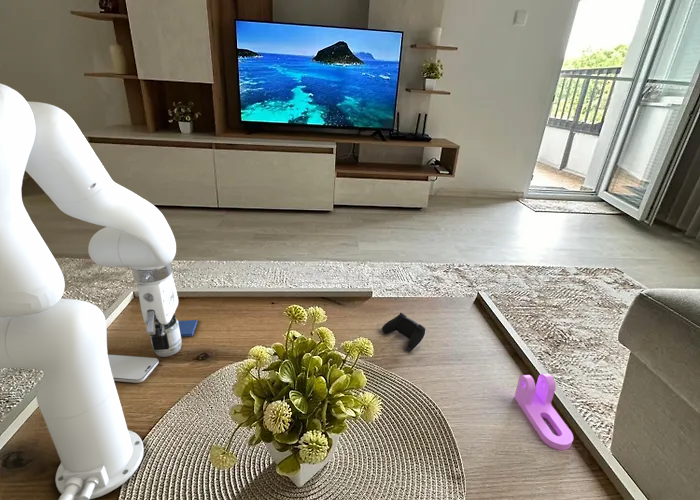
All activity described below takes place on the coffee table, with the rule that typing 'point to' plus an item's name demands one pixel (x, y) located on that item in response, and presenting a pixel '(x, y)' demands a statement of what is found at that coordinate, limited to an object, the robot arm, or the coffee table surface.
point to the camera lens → (170, 338)
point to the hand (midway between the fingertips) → (166, 338)
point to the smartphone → (131, 367)
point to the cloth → (187, 327)
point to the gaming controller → (406, 330)
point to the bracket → (543, 410)
